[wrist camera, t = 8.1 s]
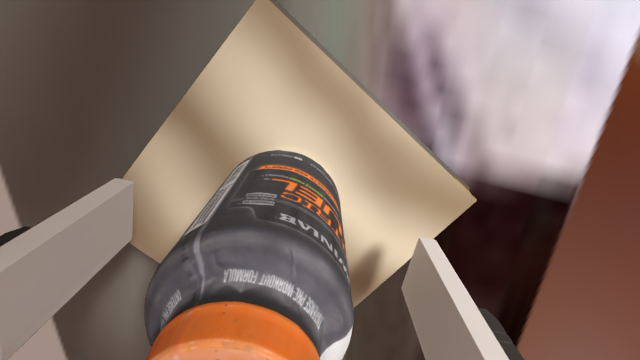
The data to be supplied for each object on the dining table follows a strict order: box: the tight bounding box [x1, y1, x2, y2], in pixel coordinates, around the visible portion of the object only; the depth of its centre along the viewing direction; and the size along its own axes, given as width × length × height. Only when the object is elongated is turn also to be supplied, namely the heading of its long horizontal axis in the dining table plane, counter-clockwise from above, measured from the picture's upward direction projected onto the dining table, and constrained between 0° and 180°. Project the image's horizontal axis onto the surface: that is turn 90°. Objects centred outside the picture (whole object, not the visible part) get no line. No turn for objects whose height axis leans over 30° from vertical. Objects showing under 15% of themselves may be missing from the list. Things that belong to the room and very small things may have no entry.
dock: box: [122, 0, 477, 308], centre depth 19 cm, size 14×14×3 cm
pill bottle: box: [144, 150, 354, 360], centre depth 12 cm, size 6×6×11 cm
